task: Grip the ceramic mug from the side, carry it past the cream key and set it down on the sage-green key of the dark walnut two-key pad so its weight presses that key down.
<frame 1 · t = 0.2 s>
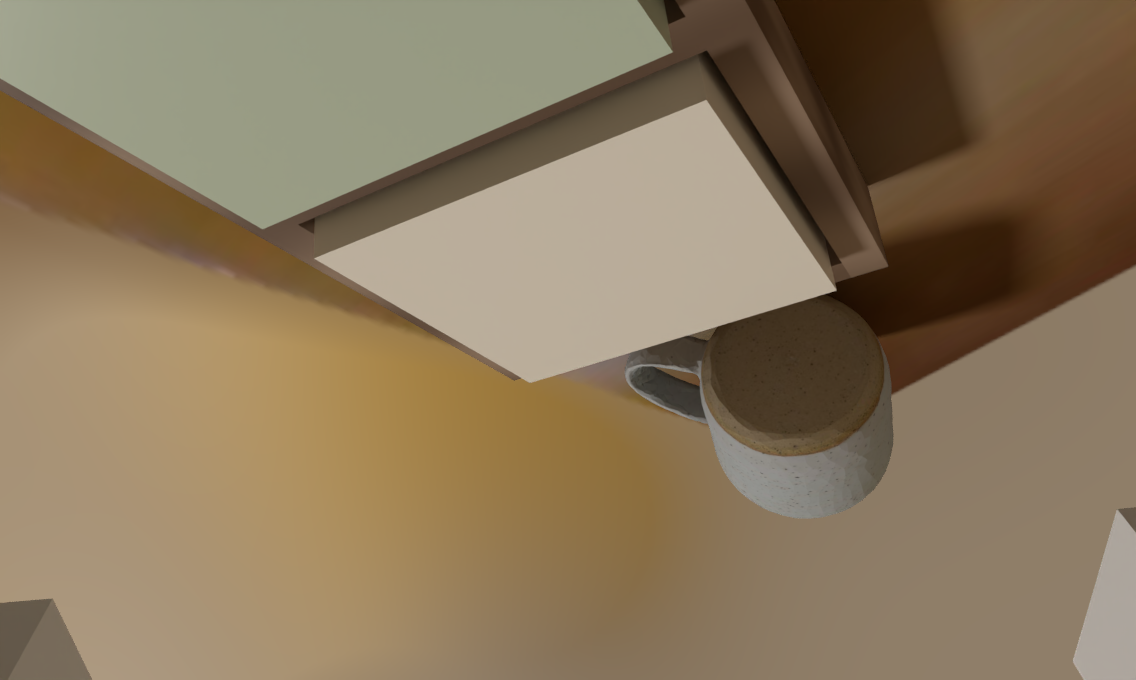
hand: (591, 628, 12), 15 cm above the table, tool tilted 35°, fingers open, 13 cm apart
key pad frame: (461, 35, 24), on the table
cream key: (591, 233, 28), point 3 cm above the table, slide at 0.0 cm
ceramic mug: (748, 326, 42), on the table
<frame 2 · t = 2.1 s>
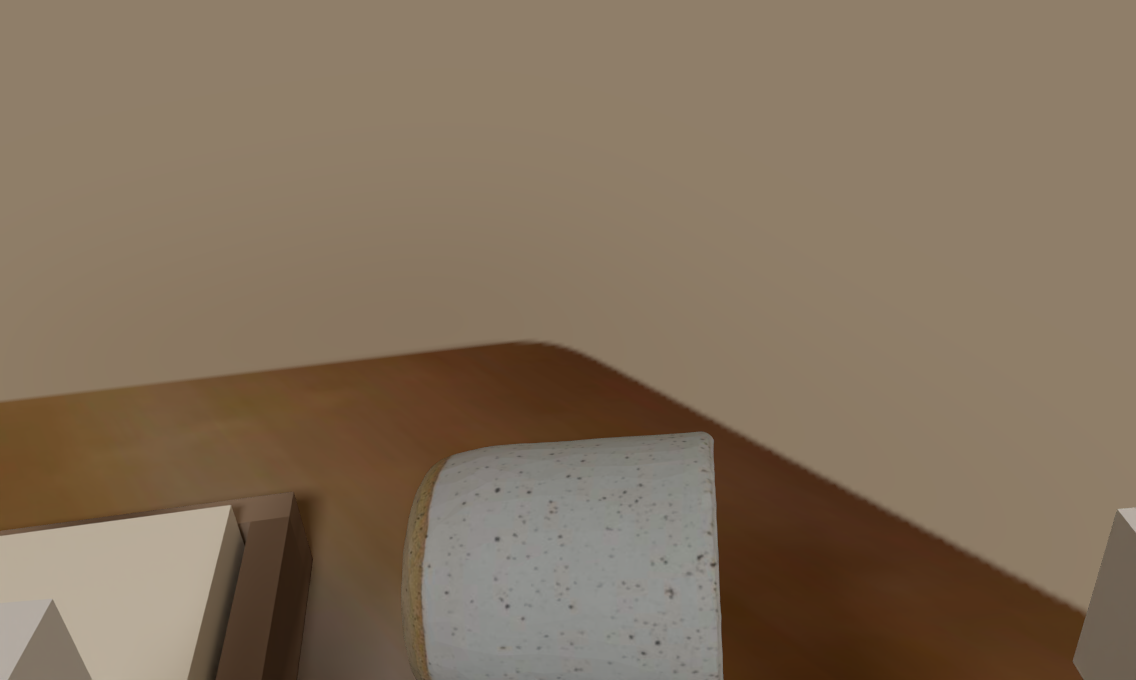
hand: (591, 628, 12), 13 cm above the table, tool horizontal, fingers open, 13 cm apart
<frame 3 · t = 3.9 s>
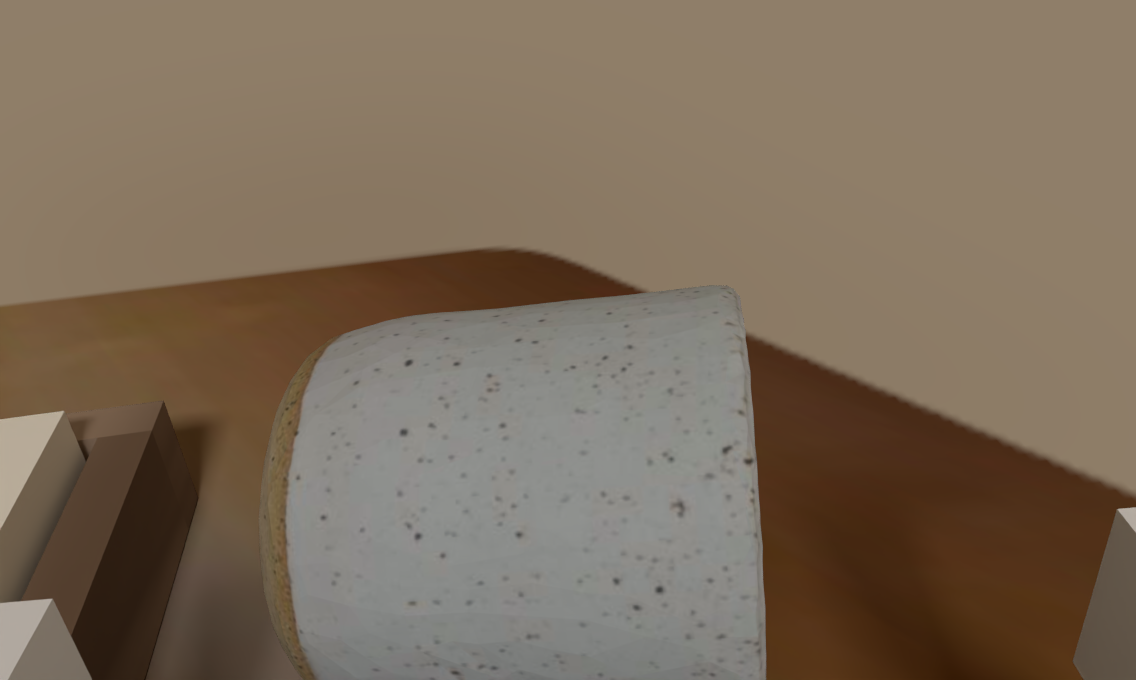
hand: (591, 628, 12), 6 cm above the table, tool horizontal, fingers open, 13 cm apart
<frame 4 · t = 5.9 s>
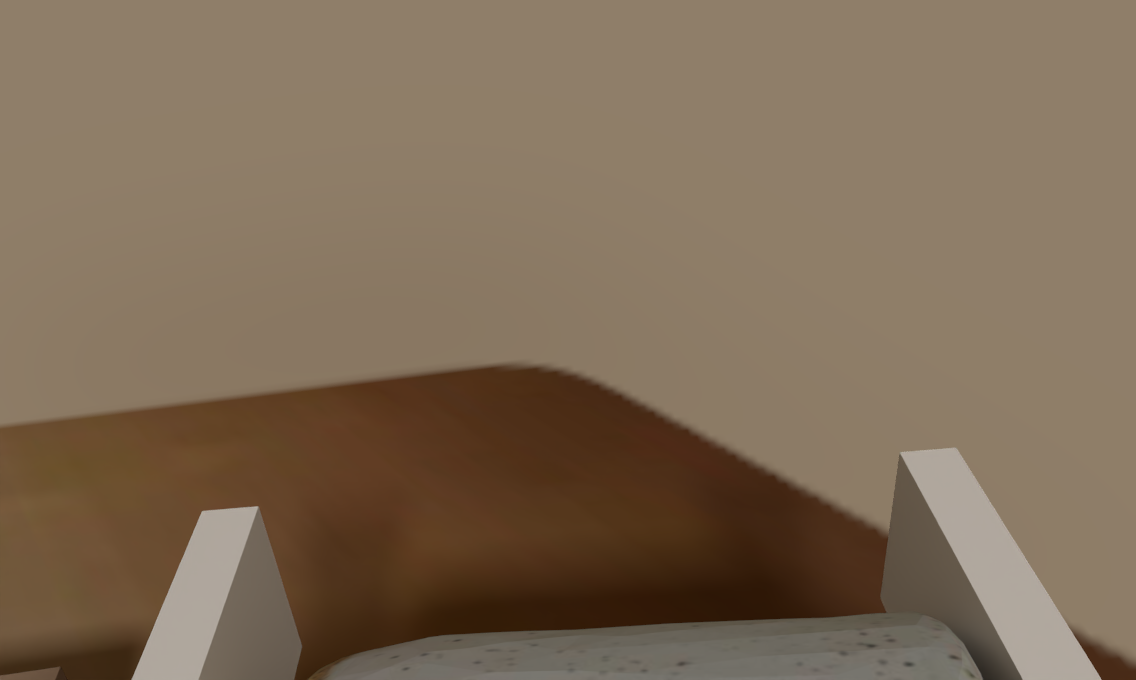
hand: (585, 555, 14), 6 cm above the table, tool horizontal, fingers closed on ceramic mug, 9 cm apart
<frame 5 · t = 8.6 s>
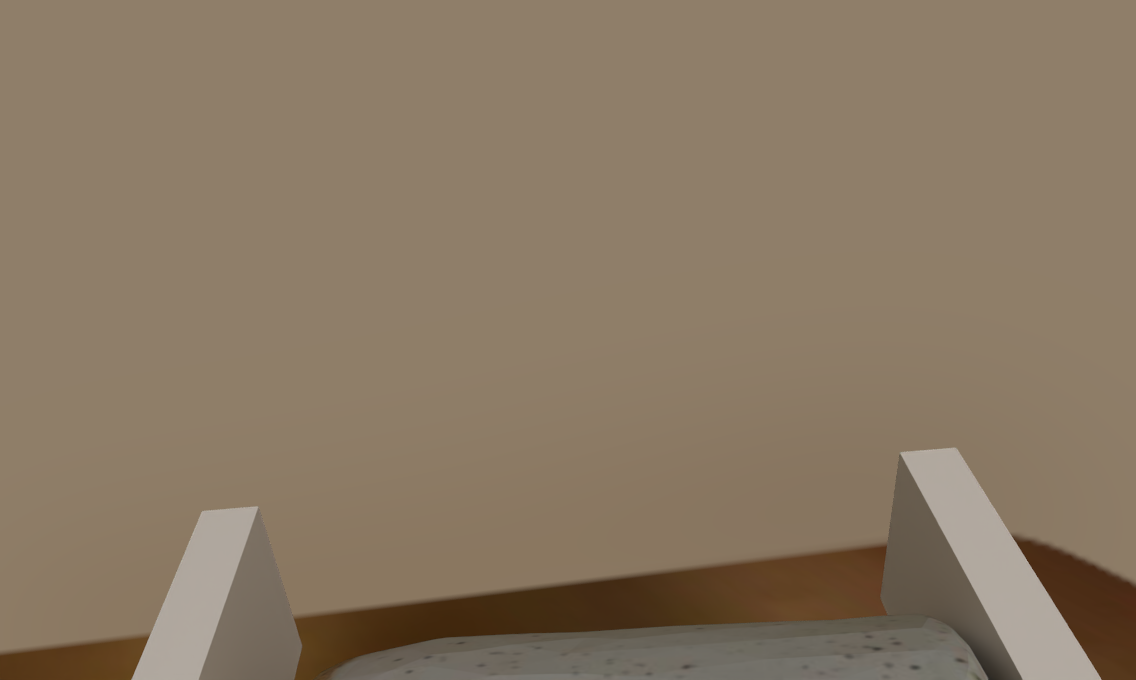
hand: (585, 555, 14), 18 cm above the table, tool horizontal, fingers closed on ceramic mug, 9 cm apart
when the fingers open (11 cm above the table, at t = 11.4 s): ceramic mug drops 3 cm, resting on key pad frame, sage key.
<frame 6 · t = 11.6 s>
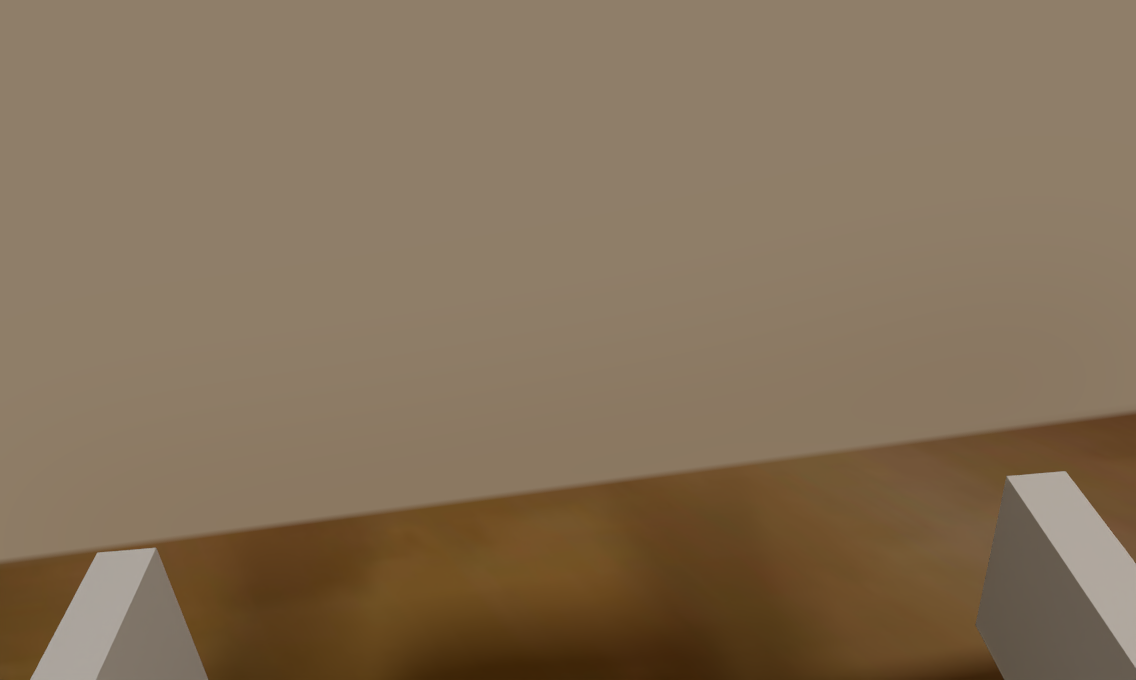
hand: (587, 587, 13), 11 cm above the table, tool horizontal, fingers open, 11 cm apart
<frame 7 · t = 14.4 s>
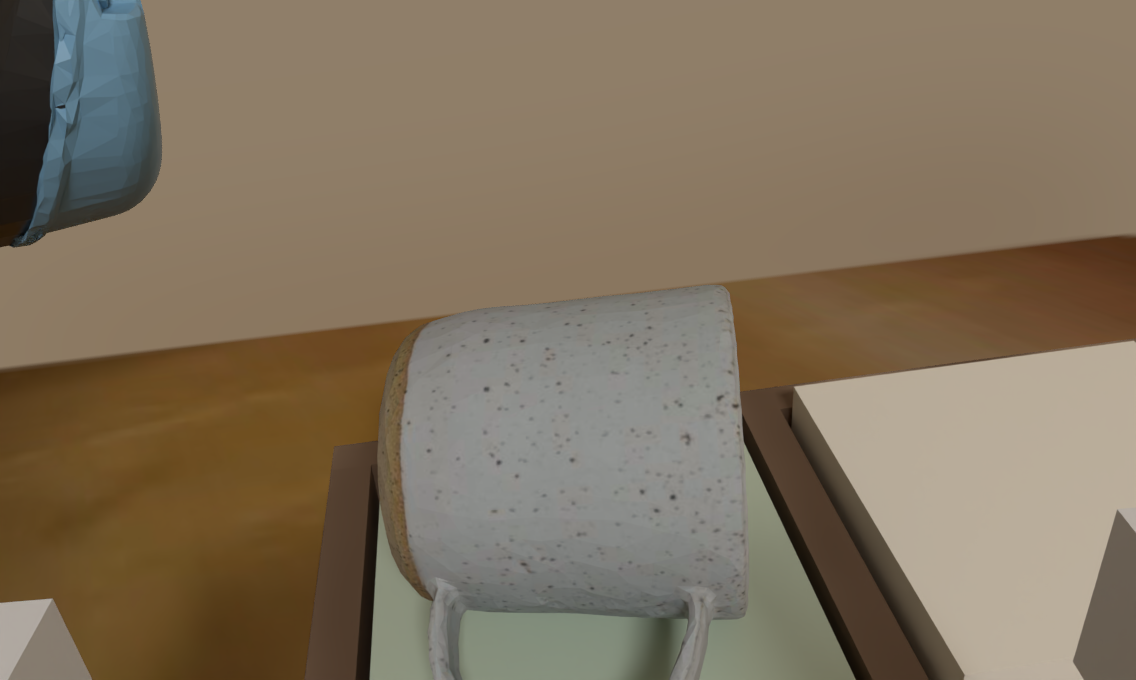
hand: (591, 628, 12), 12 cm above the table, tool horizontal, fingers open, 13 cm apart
key pad frame: (819, 617, 27), on the table
sage key: (590, 615, 26), point 1 cm above the table, slide at 1.2 cm, touching ceramic mug
cream key: (1055, 514, 26), point 3 cm above the table, slide at 0.0 cm
ceramic mug: (594, 613, 24), point 3 cm above the table, touching key pad frame, sage key
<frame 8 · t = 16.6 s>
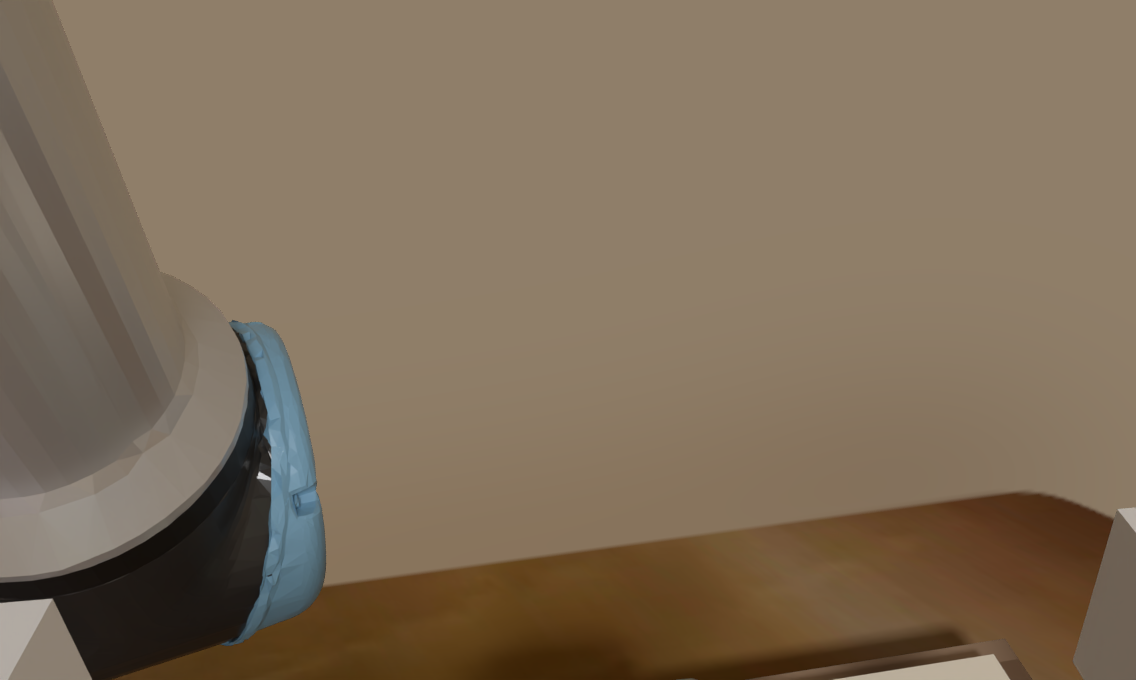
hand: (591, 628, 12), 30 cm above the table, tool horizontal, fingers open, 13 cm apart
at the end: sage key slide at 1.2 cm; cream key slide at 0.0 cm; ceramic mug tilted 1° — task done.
